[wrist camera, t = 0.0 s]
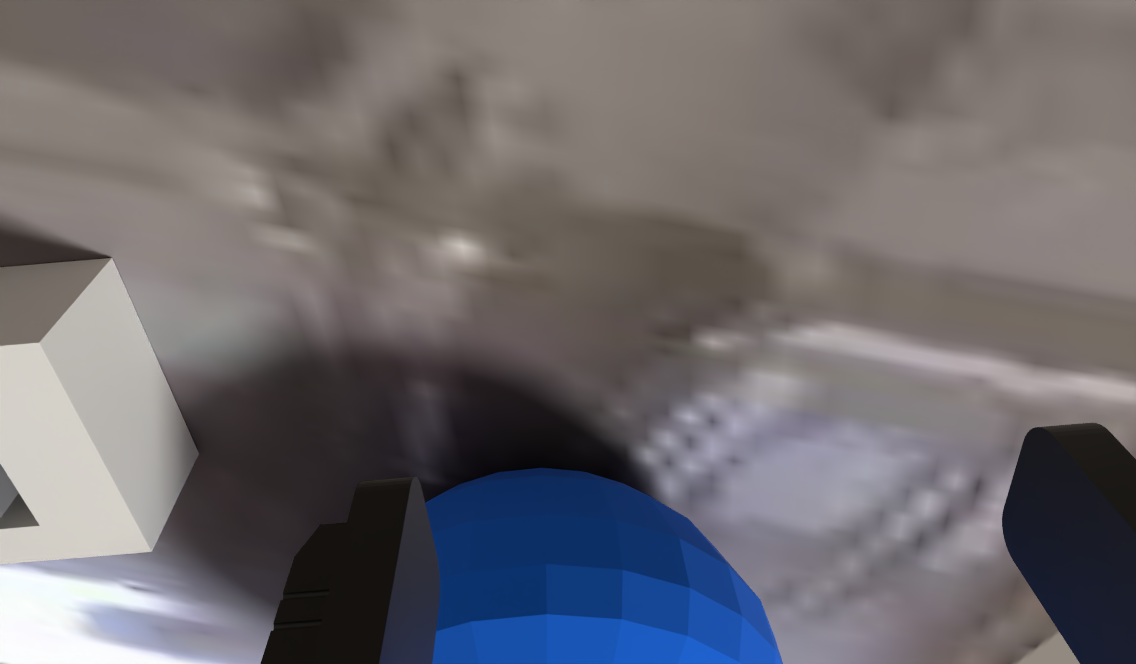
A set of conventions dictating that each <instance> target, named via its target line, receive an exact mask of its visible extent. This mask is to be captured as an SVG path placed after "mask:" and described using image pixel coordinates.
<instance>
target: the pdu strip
mask: <svg viewBox="0 0 1136 664" xmlns="http://www.w3.org/2000/svg"><path fill="white" fill-rule="evenodd" d="M198 455H199V453H198V450H197V448H196V446H195V444H194V441H193V439H192V437H191V435H190V432H189V430H188V428H187V426H186V423H185V421H184V419H183V417H182V414H181V412H180V410H179V408H178V405H177V403H176V401H175V399H174V396H173V394H172V392H171V390H170V387H169V385H168V383H167V381H166V378H165V376H164V374H163V372H162V369H161V367H160V365H159V363H158V360H157V358H156V356H155V354H154V351H153V349H152V347H151V345H150V342H149V340H148V338H147V336H146V333H145V331H144V329H143V327H142V324H141V322H140V320H139V318H138V315H137V313H136V311H135V309H134V306H133V304H132V302H131V300H130V297H129V295H128V293H127V291H126V288H125V286H124V284H123V282H122V279H121V277H120V275H119V273H118V270H117V268H116V266H115V264H114V261H113V259H112V258H105V259H93V260H82V261H70V262H58V263H46V264H34V265H22V266H11V267H0V464H1V466H2V467H3V469H4V470H5V472H6V473H7V475H8V477H9V478H10V480H11V481H12V483H13V484H14V486H15V488H16V489H17V491H18V492H19V493H18V495H17V496H16V497H15V499H14V500H13V502H12V503H11V504H10V506H9V507H8V509H7V510H6V512H5V513H4V514H3V516H2V517H1V519H0V564H9V563H21V562H33V561H45V560H58V559H70V558H82V557H94V556H106V555H118V554H131V553H143V552H152V550H153V548H154V546H155V544H156V542H157V540H158V538H159V536H160V534H161V532H162V530H163V527H164V525H165V523H166V521H167V519H168V517H169V515H170V513H171V511H172V509H173V507H174V505H175V503H176V501H177V498H178V496H179V494H180V492H181V490H182V488H183V486H184V484H185V482H186V480H187V478H188V476H189V474H190V472H191V469H192V467H193V465H194V463H195V461H196V459H197V457H198Z"/></svg>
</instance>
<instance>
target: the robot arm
mask: <svg viewBox="0 0 1136 664" xmlns="http://www.w3.org/2000/svg"><path fill="white" fill-rule="evenodd" d="M1002 527H1003V534H1004V539H1005V543H1006V546H1007V548H1008V551H1009V553H1010V555H1011V557H1012V559H1013V561H1014V562H1015V564H1016V566H1017V567H1018V569H1019V570H1020V572H1021V573H1022V575H1023V576H1024V578H1025V579H1026V581H1027V582H1028V584H1029V586H1030V587H1031V589H1032V590H1033V592H1034V593H1035V595H1036V596H1037V598H1038V599H1039V601H1040V602H1041V604H1042V606H1043V607H1044V609H1045V610H1046V612H1047V613H1048V615H1049V616H1050V618H1051V619H1052V621H1053V622H1054V624H1055V626H1056V627H1057V629H1058V630H1059V632H1060V633H1061V635H1062V636H1063V638H1064V639H1065V641H1066V643H1067V644H1068V646H1069V647H1070V649H1071V650H1072V652H1073V653H1074V655H1075V656H1076V658H1077V659H1078V661H1079V663H1080V664H1136V459H1135V458H1134V457H1133V456H1132V455H1131V454H1130V453H1129V452H1128V451H1127V450H1126V448H1125V447H1124V446H1123V445H1122V444H1121V443H1120V442H1119V441H1118V440H1117V439H1116V438H1115V437H1114V436H1113V435H1112V434H1111V433H1110V432H1109V431H1108V430H1107V429H1106V428H1105V427H1103V426H1102V425H1100V424H1097V423H1083V424H1071V425H1059V426H1047V427H1037V428H1033V429H1031V430H1030V431H1029V432H1028V433H1027V435H1026V436H1025V439H1024V441H1023V445H1022V448H1021V452H1020V455H1019V458H1018V462H1017V465H1016V469H1015V472H1014V475H1013V479H1012V482H1011V486H1010V489H1009V492H1008V496H1007V499H1006V503H1005V506H1004V510H1003V516H1002ZM283 596H284V597H283V600H281V601H280V604H279V607H278V611H277V614H276V617H275V620H274V630H273V631H271V633H270V636H269V639H268V642H267V645H266V648H265V652H264V655H263V658H262V661H261V664H432V662H433V653H434V644H435V636H436V627H437V618H438V610H439V599H440V577H439V565H438V558H437V553H436V548H435V544H434V540H433V535H432V531H431V527H430V522H429V518H428V514H427V509H426V505H425V501H424V496H423V492H422V488H421V484H420V481H419V479H418V478H417V477H406V478H394V479H382V480H370V481H361V482H360V483H359V484H358V486H357V488H356V491H355V494H354V498H353V502H352V506H351V510H350V514H349V518H348V521H347V523H337V524H325V525H320V526H319V527H318V528H317V530H316V531H315V532H314V533H313V535H312V536H311V537H310V538H309V540H308V541H307V542H306V543H305V545H304V546H303V547H302V548H301V550H300V551H299V552H298V553H297V555H296V556H295V557H294V560H293V563H292V567H291V570H290V573H289V576H288V579H287V582H286V585H285V589H284V592H283Z"/></svg>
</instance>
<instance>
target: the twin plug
mask: <svg viewBox="0 0 1136 664" xmlns="http://www.w3.org/2000/svg"><path fill="white" fill-rule="evenodd" d="M18 493H19V492H18V491H17V489H16V488H15V486H14V484H13V483H12V481H11V480H10V478H9V477H8V475H7V473H6V472H5V470H4V469H3V467H2V466H1V464H0V519H1V517H2V516H3V514H4V513H5V512H6V510H7V509H8V507H9V506H10V504H11V503H12V502H13V500H14V499H15V497H16V496H17V495H18Z"/></svg>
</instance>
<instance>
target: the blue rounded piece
mask: <svg viewBox="0 0 1136 664" xmlns="http://www.w3.org/2000/svg"><path fill="white" fill-rule="evenodd" d="M425 505H426V509H427V514H428V518H429V522H430V527H431V531H432V535H433V540H434V544H435V548H436V553H437V558H438V565H439V577H440V599H439V610H438V618H437V627H436V636H435V644H434V653H433V662H432V664H783V662H782V659H781V656H780V653H779V650H778V647H777V643H776V640H775V637H774V634H773V632H772V629H771V627H770V624H769V621H768V619H767V616H766V614H765V611H764V608H763V606H762V603H761V601H760V599H759V598H758V597H757V596H756V594H755V593H754V592H753V591H752V590H751V589H750V587H749V586H748V585H747V584H746V583H745V582H744V580H743V579H742V578H741V577H740V576H739V575H738V574H737V572H736V571H735V570H734V569H733V568H732V567H731V565H730V564H729V563H728V562H727V561H726V560H725V559H724V557H723V556H722V555H721V554H720V553H719V552H718V550H717V549H716V548H715V547H714V546H713V545H712V544H711V543H710V542H709V541H708V539H707V538H706V537H705V536H704V535H703V534H702V533H701V532H700V531H699V530H698V529H697V528H696V527H695V526H694V525H693V523H692V522H691V521H690V520H689V519H688V518H686V517H684V516H683V515H681V514H679V513H677V512H676V511H674V510H672V509H671V508H669V507H667V506H665V505H664V504H662V503H660V502H659V501H657V500H655V499H653V498H652V497H650V496H648V495H646V494H644V493H642V492H640V491H638V490H636V489H634V488H632V487H630V486H627V485H625V484H623V483H620V482H617V481H614V480H610V479H607V478H604V477H600V476H597V475H594V474H590V473H587V472H583V471H572V470H561V469H550V468H534V469H524V470H515V471H505V472H497V473H494V474H491V475H488V476H484V477H481V478H478V479H475V480H471V481H468V482H465V483H462V484H459V485H457V486H455V487H453V488H451V489H449V490H447V491H446V492H444V493H442V494H440V495H438V496H436V497H434V498H433V499H431V500H429V501H428V502H426V503H425Z"/></svg>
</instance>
